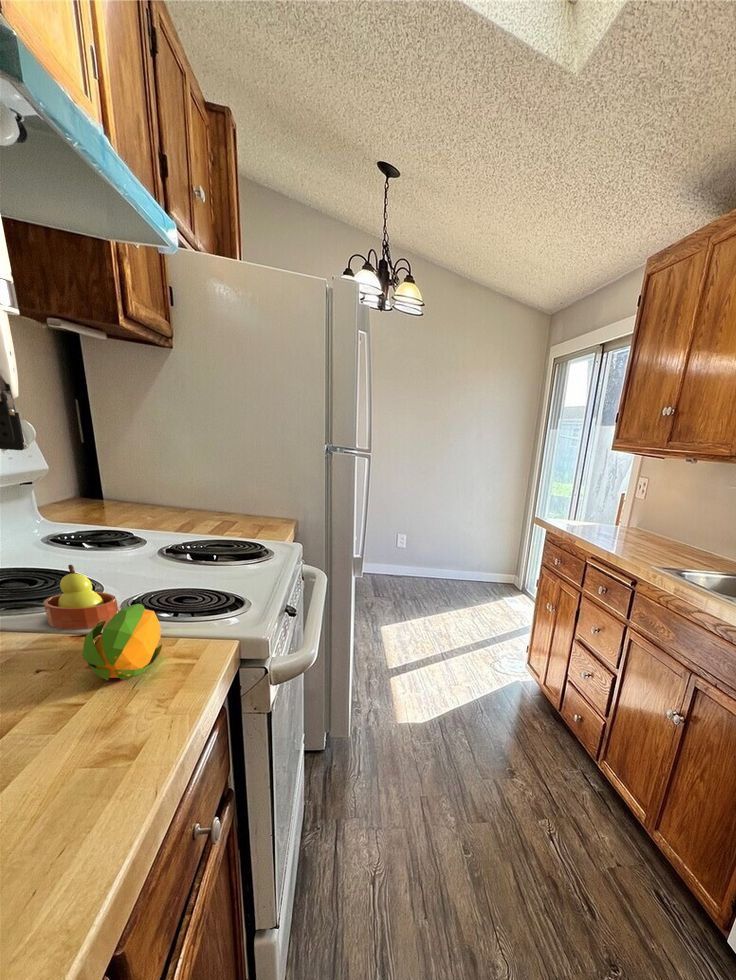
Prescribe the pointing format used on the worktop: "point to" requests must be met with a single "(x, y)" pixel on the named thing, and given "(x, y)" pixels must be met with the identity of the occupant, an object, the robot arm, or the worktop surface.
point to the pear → (77, 591)
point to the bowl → (80, 613)
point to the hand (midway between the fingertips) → (8, 445)
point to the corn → (124, 643)
